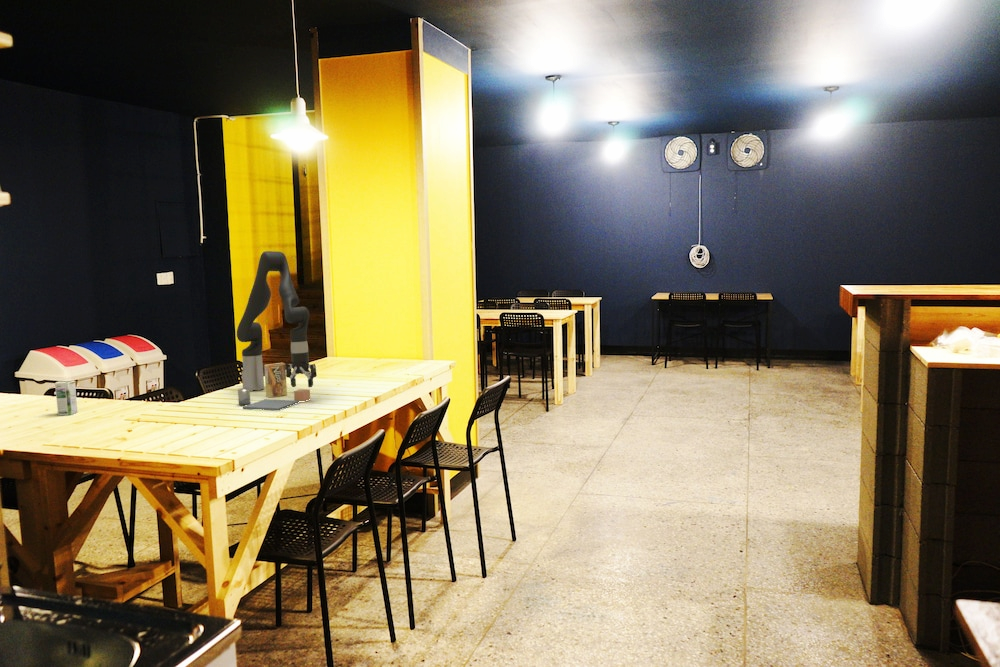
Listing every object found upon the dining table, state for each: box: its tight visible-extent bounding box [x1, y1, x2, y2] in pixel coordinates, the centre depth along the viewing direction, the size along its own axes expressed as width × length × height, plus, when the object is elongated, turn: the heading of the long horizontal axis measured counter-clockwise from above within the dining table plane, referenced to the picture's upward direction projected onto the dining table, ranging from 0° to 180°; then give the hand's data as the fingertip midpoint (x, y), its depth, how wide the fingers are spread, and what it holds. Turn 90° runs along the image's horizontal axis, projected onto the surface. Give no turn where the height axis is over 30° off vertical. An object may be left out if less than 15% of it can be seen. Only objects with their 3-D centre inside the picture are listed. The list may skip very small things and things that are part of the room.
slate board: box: [242, 398, 300, 411], centre depth 331 cm, size 18×16×1 cm
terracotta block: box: [293, 388, 311, 401], centre depth 339 cm, size 5×5×5 cm
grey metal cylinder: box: [237, 387, 252, 407], centre depth 334 cm, size 5×5×7 cm
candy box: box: [263, 362, 288, 398], centre depth 352 cm, size 9×4×15 cm, turn 129°
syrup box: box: [54, 380, 78, 416], centre depth 326 cm, size 6×6×14 cm
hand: (302, 386), depth 339 cm, fingers open, 8 cm apart
